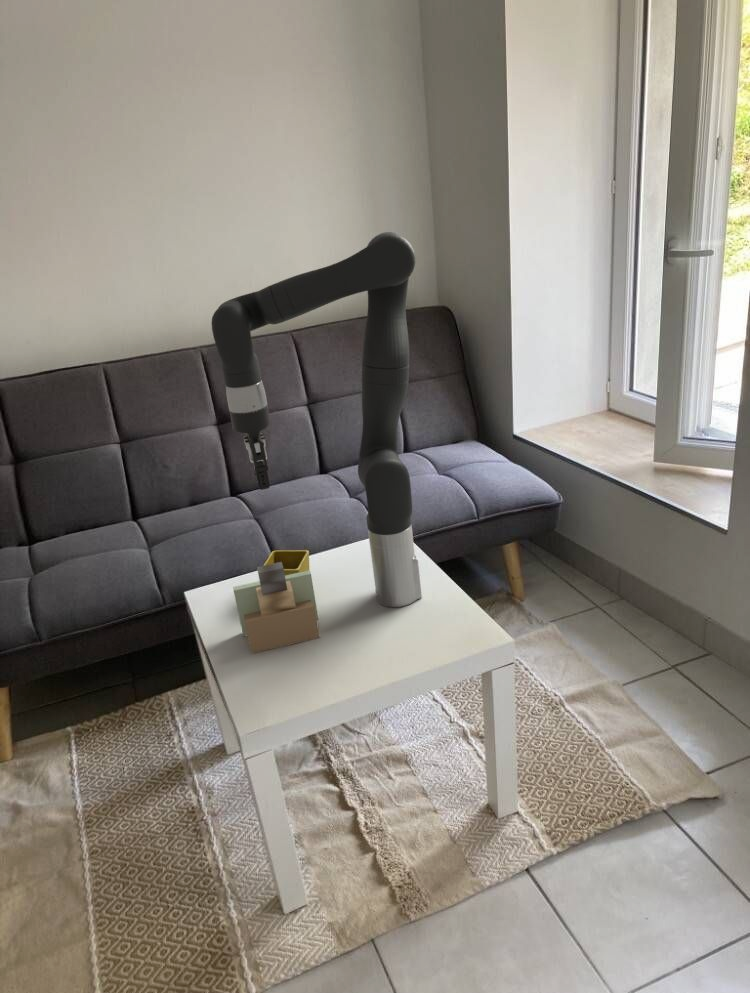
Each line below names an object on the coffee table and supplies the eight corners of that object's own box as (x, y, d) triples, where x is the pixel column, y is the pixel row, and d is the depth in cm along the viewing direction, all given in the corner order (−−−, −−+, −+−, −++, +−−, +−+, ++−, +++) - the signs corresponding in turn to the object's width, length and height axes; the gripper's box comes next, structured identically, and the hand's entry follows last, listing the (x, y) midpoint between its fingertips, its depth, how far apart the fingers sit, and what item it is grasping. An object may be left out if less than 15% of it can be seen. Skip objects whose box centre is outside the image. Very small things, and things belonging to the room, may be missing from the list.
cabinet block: (294, 605, 163) (286, 558, 159) (297, 616, 159) (289, 569, 155) (260, 612, 162) (251, 566, 158) (263, 624, 158) (253, 576, 153)
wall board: (317, 615, 168) (309, 570, 164) (324, 636, 160) (316, 589, 156) (242, 632, 165) (233, 587, 161) (246, 654, 158) (236, 607, 153)
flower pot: (304, 605, 173) (298, 569, 169) (266, 605, 175) (259, 569, 171) (315, 584, 180) (309, 550, 177) (279, 584, 182) (272, 550, 179)
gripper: (271, 411, 148) (285, 490, 155) (262, 393, 161) (275, 466, 168) (231, 418, 147) (247, 497, 154) (226, 399, 160) (240, 473, 166)
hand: (262, 481), depth 161 cm, fingers open, 8 cm apart
